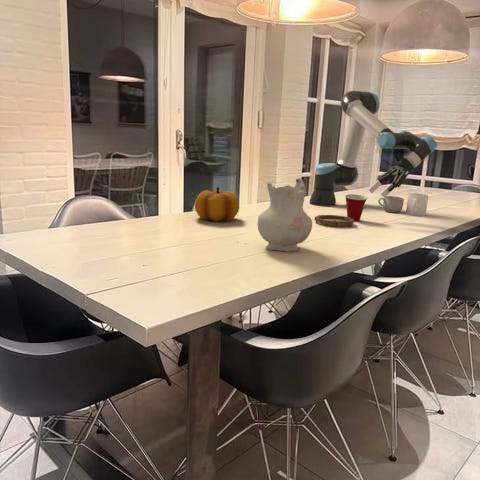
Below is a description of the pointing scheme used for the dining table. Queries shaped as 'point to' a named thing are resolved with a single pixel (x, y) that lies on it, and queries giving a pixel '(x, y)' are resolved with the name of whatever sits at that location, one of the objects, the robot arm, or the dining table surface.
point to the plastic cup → (355, 205)
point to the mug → (417, 204)
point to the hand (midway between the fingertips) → (376, 193)
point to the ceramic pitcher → (285, 218)
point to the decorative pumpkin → (217, 205)
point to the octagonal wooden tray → (334, 221)
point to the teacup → (392, 203)
